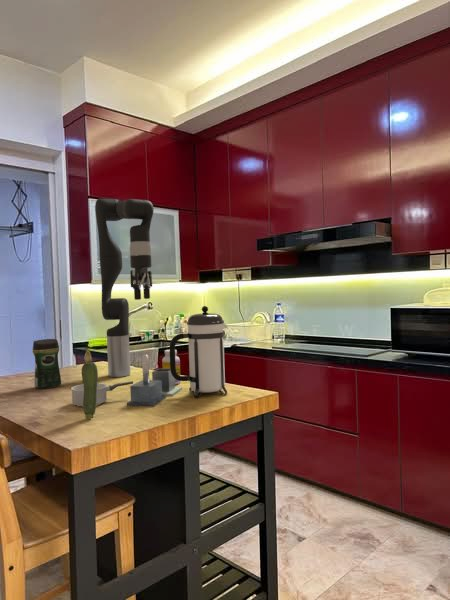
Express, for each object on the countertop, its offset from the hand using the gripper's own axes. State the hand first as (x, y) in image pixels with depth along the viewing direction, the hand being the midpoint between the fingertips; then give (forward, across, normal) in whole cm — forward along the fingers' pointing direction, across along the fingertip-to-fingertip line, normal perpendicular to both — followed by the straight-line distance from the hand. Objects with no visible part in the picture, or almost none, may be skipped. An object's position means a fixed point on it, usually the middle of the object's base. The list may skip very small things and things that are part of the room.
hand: (142, 299), depth 160 cm
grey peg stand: (+33, +18, +8) cm, 38 cm away
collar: (+32, +5, +9) cm, 34 cm away
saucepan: (+33, +19, -7) cm, 39 cm away
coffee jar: (+33, -1, -41) cm, 53 cm away
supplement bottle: (+33, -9, +7) cm, 35 cm away
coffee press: (+33, +6, +24) cm, 41 cm away
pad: (+33, +5, +9) cm, 35 cm away
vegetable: (+33, +37, -1) cm, 50 cm away
